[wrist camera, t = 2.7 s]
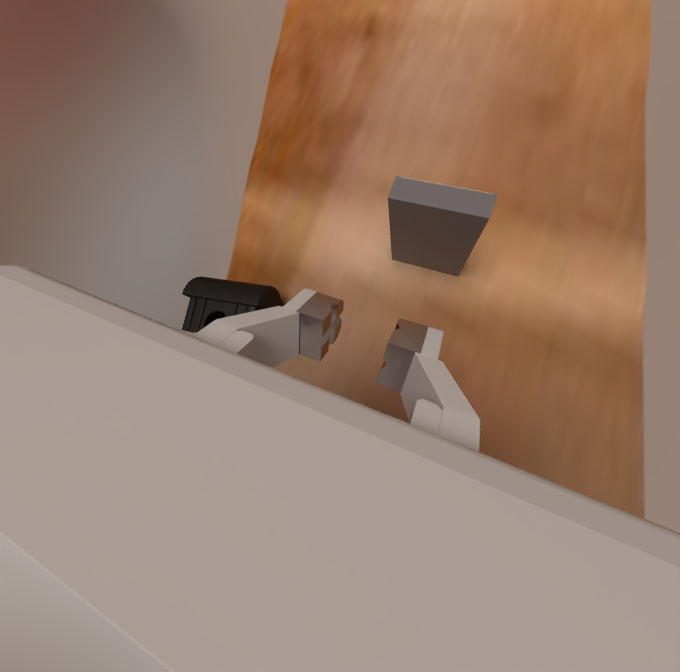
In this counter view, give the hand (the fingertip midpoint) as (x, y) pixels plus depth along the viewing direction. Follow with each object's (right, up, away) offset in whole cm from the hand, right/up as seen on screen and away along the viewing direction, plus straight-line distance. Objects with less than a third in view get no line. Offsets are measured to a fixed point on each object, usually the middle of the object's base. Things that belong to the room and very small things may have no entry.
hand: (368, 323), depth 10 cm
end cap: (-13, +2, +28) cm, 31 cm away
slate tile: (+9, +9, +24) cm, 27 cm away
